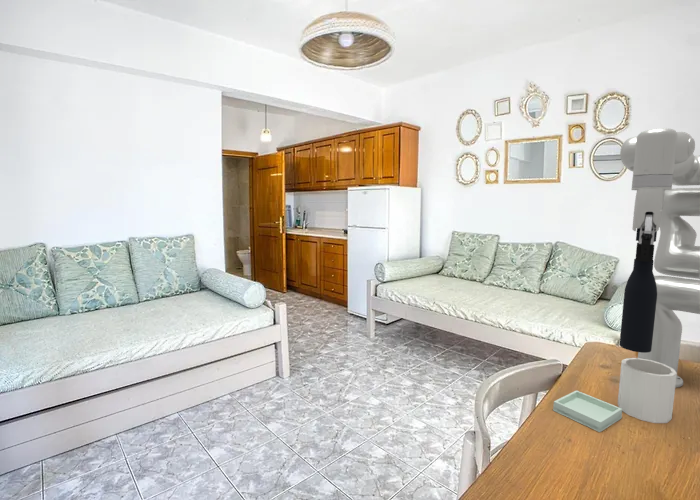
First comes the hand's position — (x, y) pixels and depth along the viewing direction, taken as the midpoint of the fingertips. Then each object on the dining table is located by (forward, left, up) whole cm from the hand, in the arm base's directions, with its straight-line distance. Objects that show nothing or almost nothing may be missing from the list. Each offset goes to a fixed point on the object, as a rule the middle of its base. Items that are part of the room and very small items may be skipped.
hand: (643, 259), depth 92 cm
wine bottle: (0, 0, -22) cm, 22 cm away
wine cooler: (-4, +2, -39) cm, 40 cm away
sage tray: (+10, -5, -39) cm, 41 cm away
